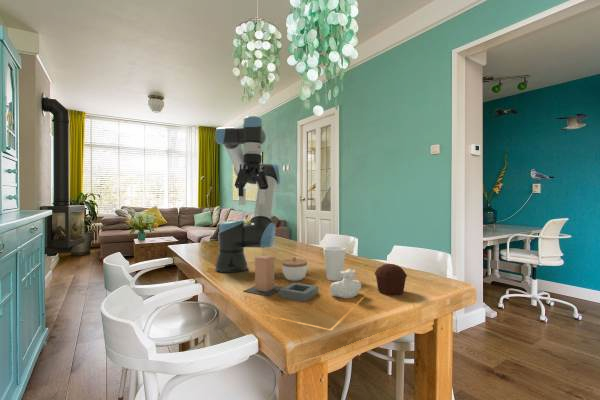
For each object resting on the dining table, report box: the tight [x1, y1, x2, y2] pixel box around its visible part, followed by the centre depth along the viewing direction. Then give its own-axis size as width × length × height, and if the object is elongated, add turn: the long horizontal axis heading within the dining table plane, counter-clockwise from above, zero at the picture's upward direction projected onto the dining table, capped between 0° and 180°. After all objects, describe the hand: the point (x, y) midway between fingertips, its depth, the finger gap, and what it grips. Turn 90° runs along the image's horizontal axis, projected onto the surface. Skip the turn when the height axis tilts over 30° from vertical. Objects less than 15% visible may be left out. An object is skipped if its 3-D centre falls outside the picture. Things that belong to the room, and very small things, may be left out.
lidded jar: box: [281, 257, 308, 282], centre depth 129 cm, size 11×11×9 cm
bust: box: [329, 268, 362, 299], centre depth 106 cm, size 12×8×11 cm
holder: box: [279, 282, 319, 303], centre depth 107 cm, size 10×10×3 cm
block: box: [254, 254, 275, 292], centre depth 113 cm, size 5×5×12 cm
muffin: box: [374, 263, 408, 297], centre depth 113 cm, size 12×11×10 cm
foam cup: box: [322, 246, 346, 282], centre depth 131 cm, size 10×9×13 cm
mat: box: [243, 285, 285, 298], centre depth 113 cm, size 11×11×1 cm
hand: (252, 204), depth 129 cm, fingers open, 13 cm apart
